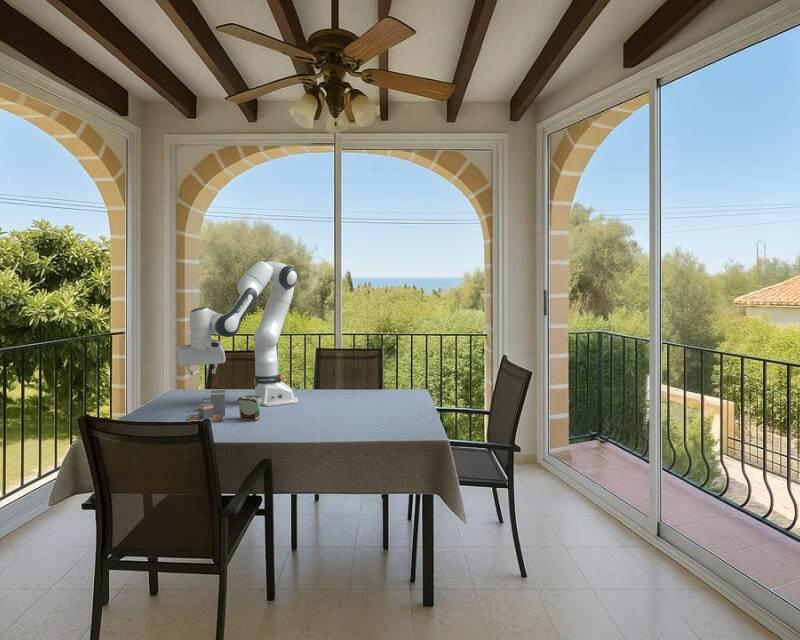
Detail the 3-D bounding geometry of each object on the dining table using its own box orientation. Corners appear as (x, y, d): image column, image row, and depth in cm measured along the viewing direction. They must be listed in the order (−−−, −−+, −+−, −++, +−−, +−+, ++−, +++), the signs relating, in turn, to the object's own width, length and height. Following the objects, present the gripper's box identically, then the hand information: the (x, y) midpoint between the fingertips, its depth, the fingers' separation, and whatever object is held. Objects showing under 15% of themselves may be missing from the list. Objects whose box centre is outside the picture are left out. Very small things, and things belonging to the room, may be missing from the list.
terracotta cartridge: (213, 417, 236) (213, 404, 235) (204, 419, 232) (203, 405, 232) (208, 416, 239) (207, 402, 238) (198, 417, 235) (198, 404, 235)
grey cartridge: (213, 409, 258) (212, 396, 258) (212, 411, 254) (212, 398, 253) (203, 409, 257) (202, 397, 256) (202, 411, 252) (202, 399, 252)
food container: (268, 418, 239) (267, 396, 238) (257, 421, 233) (257, 399, 233) (248, 415, 245) (247, 393, 244) (238, 418, 240) (237, 396, 239)
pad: (222, 416, 242) (222, 414, 242) (222, 422, 233) (222, 419, 233) (189, 419, 238) (189, 416, 238) (187, 424, 229) (187, 421, 229)
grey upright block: (225, 412, 250) (224, 389, 249) (225, 415, 244) (224, 392, 243) (211, 413, 248) (211, 390, 248) (211, 416, 242) (210, 392, 242)
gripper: (175, 345, 232) (176, 377, 233) (224, 343, 238) (226, 373, 239) (176, 344, 238) (178, 375, 239) (224, 341, 244) (226, 371, 245)
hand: (202, 374), depth 239 cm, fingers open, 8 cm apart
